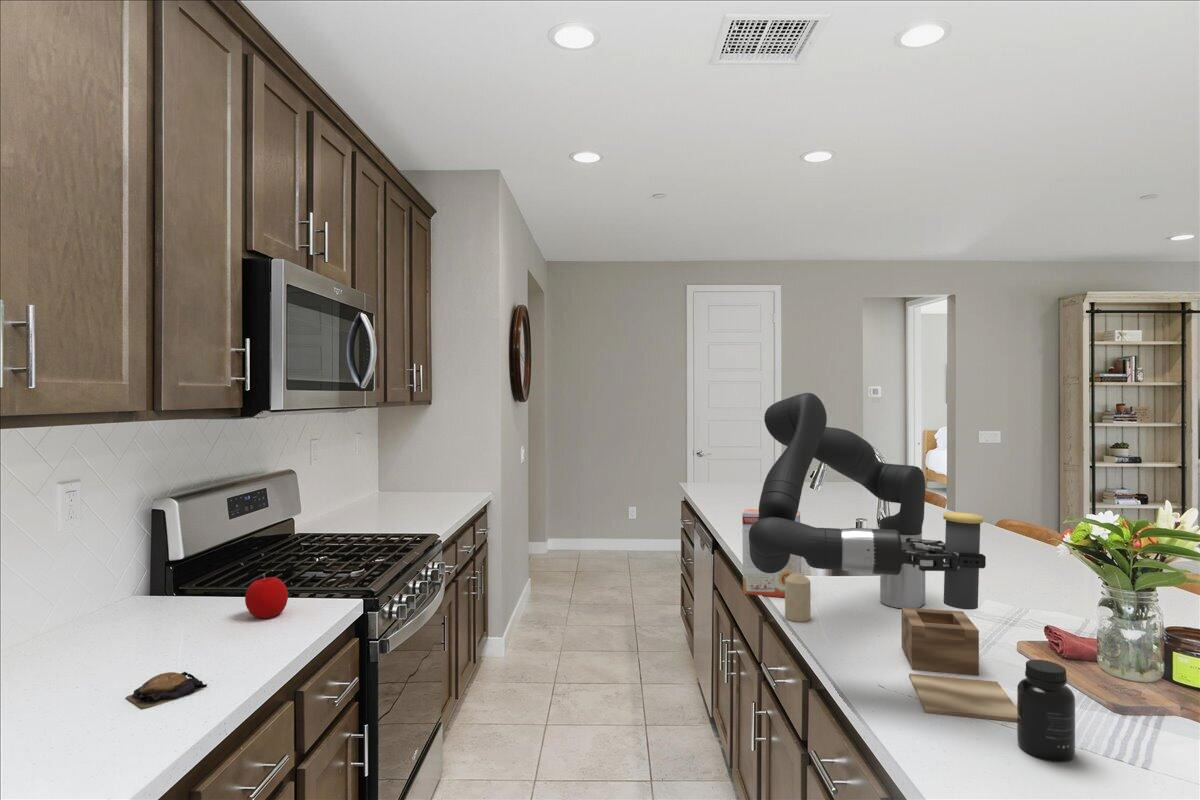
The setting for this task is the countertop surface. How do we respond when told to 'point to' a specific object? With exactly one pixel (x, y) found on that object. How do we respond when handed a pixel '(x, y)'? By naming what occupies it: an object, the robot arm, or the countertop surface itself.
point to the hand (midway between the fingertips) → (979, 557)
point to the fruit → (266, 597)
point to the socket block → (940, 641)
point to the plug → (963, 540)
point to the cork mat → (963, 697)
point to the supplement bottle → (1046, 712)
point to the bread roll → (165, 689)
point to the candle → (797, 598)
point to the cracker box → (756, 579)
